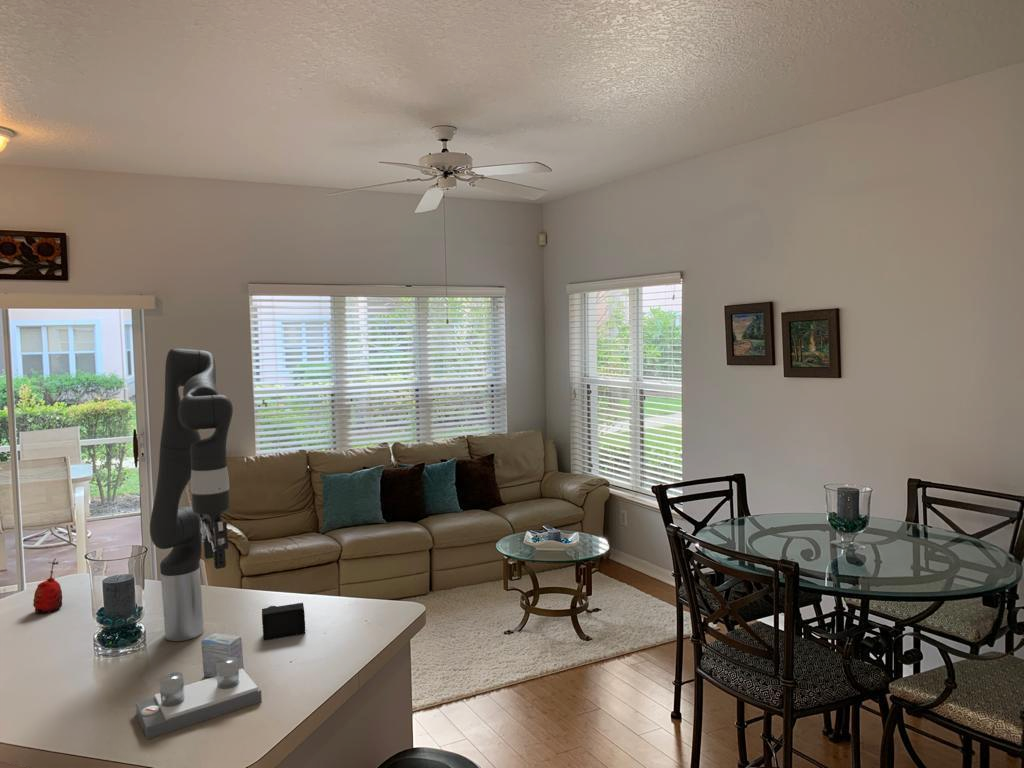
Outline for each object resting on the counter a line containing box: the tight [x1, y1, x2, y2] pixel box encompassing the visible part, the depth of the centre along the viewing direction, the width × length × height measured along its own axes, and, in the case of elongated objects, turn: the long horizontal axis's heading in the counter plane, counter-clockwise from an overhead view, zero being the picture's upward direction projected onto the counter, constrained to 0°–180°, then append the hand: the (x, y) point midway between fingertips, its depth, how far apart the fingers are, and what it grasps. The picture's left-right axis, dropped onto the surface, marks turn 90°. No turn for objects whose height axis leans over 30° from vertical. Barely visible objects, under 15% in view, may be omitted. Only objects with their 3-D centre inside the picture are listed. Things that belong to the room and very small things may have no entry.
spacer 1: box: [158, 671, 185, 707], centre depth 148 cm, size 4×4×5 cm
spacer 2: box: [216, 657, 240, 689], centre depth 155 cm, size 4×4×5 cm
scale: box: [135, 668, 263, 740], centre depth 152 cm, size 12×22×3 cm, turn 126°
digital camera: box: [261, 602, 306, 642], centre depth 188 cm, size 10×5×7 cm, turn 109°
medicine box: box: [200, 632, 245, 678], centre depth 166 cm, size 8×4×9 cm, turn 71°
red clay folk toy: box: [32, 558, 63, 615], centre depth 209 cm, size 8×7×15 cm
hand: (214, 562), depth 156 cm, fingers open, 8 cm apart
